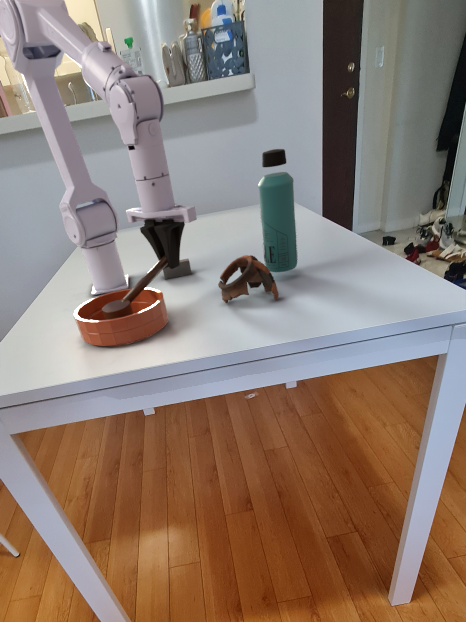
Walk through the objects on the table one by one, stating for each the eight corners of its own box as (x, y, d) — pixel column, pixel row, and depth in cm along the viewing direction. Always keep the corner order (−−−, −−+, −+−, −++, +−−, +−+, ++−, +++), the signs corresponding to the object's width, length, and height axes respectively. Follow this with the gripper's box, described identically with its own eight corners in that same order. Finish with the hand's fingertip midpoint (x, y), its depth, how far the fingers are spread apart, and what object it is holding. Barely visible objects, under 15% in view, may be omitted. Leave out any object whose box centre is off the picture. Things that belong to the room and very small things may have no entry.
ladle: (121, 328, 75) (108, 292, 71) (102, 325, 78) (88, 290, 74) (191, 281, 85) (183, 247, 81) (173, 279, 87) (164, 246, 83)
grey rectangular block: (164, 277, 100) (161, 263, 99) (191, 271, 101) (188, 258, 99) (164, 279, 99) (161, 265, 97) (191, 274, 99) (189, 260, 97)
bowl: (87, 323, 85) (78, 298, 82) (167, 307, 85) (161, 282, 82) (79, 356, 73) (68, 328, 70) (171, 337, 74) (164, 309, 71)
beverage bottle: (304, 270, 90) (300, 144, 77) (288, 281, 86) (281, 151, 73) (275, 269, 93) (266, 147, 80) (259, 280, 90) (247, 154, 76)
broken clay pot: (283, 308, 78) (256, 270, 72) (238, 334, 83) (210, 300, 77) (282, 268, 84) (257, 231, 79) (240, 295, 89) (214, 261, 84)
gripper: (201, 169, 72) (215, 261, 81) (138, 174, 80) (157, 258, 89) (172, 178, 69) (190, 274, 78) (108, 183, 76) (132, 270, 85)
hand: (171, 266), depth 83 cm, fingers closed on ladle
